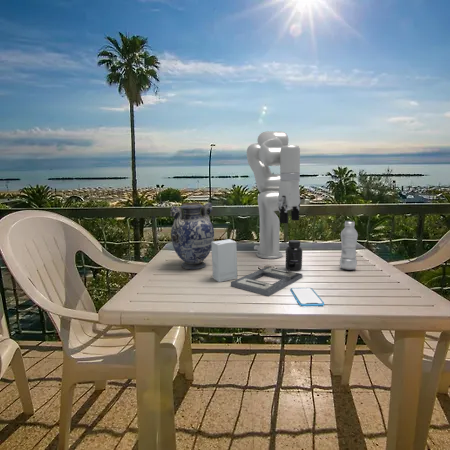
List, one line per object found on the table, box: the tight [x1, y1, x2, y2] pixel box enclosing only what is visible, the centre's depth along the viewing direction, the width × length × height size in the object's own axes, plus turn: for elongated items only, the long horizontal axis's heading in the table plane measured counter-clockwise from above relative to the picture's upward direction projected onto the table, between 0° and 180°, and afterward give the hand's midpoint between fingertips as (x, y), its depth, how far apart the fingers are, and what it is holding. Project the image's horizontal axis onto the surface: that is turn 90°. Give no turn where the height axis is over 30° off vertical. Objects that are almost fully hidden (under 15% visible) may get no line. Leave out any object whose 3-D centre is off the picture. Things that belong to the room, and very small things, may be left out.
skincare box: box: [211, 238, 238, 283], centre depth 122 cm, size 8×6×15 cm
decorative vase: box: [169, 201, 215, 271], centre depth 139 cm, size 21×18×28 cm
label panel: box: [230, 266, 303, 297], centre depth 119 cm, size 16×24×2 cm, turn 140°
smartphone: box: [290, 287, 325, 307], centre depth 103 cm, size 8×1×15 cm
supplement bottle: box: [284, 239, 303, 272], centre depth 133 cm, size 7×7×12 cm
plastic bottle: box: [339, 220, 359, 271], centre depth 131 cm, size 6×7×20 cm
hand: (289, 221), depth 127 cm, fingers open, 9 cm apart
